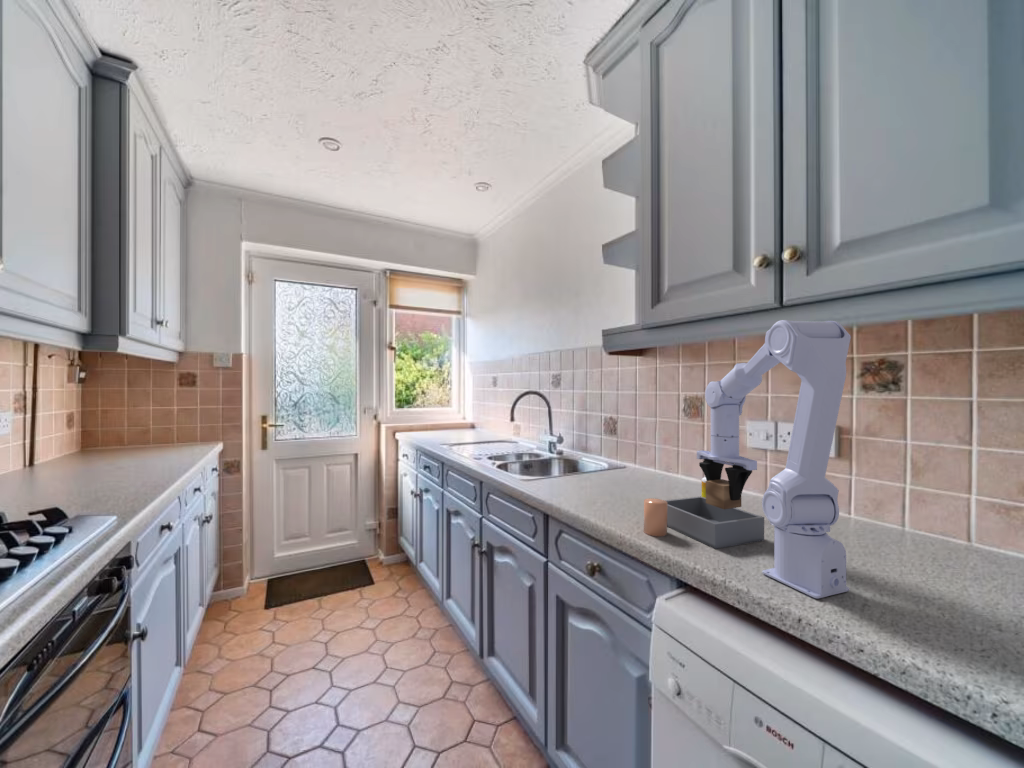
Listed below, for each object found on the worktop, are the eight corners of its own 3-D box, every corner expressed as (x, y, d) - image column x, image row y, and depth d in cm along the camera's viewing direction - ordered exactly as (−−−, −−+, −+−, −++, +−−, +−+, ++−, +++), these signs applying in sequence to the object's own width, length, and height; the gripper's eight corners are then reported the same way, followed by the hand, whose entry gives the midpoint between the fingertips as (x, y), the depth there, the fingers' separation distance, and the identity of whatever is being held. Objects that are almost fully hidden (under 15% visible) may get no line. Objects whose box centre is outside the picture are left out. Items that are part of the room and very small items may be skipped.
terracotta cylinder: (672, 535, 91) (672, 503, 91) (653, 537, 89) (653, 505, 89) (657, 527, 96) (657, 497, 96) (639, 529, 94) (639, 499, 94)
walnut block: (741, 506, 90) (741, 484, 90) (723, 509, 88) (723, 486, 88) (722, 500, 95) (722, 479, 95) (705, 503, 93) (705, 481, 93)
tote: (764, 540, 88) (764, 517, 88) (715, 549, 83) (715, 524, 83) (700, 516, 104) (701, 496, 104) (657, 521, 100) (657, 501, 100)
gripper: (686, 432, 97) (686, 490, 97) (739, 440, 84) (739, 507, 83) (709, 431, 100) (709, 487, 99) (764, 439, 86) (764, 504, 86)
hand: (724, 496), depth 92 cm, fingers closed on walnut block, 5 cm apart
